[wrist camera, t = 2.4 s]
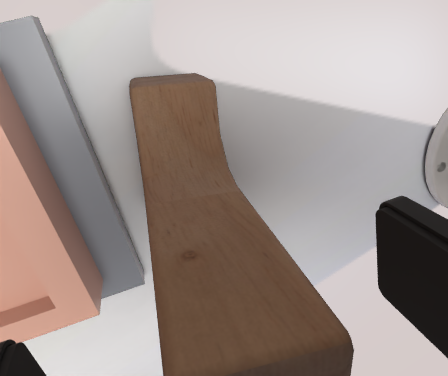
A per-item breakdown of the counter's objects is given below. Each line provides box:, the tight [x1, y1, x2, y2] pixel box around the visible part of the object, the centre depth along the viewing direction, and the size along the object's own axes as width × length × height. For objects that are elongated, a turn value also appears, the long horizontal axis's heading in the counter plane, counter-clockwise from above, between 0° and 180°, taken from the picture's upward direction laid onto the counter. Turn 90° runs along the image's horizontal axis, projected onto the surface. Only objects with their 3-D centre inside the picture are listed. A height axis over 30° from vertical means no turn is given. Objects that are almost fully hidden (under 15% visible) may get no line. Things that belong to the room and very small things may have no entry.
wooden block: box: [129, 73, 354, 376], centre depth 15 cm, size 9×4×18 cm, turn 4°
